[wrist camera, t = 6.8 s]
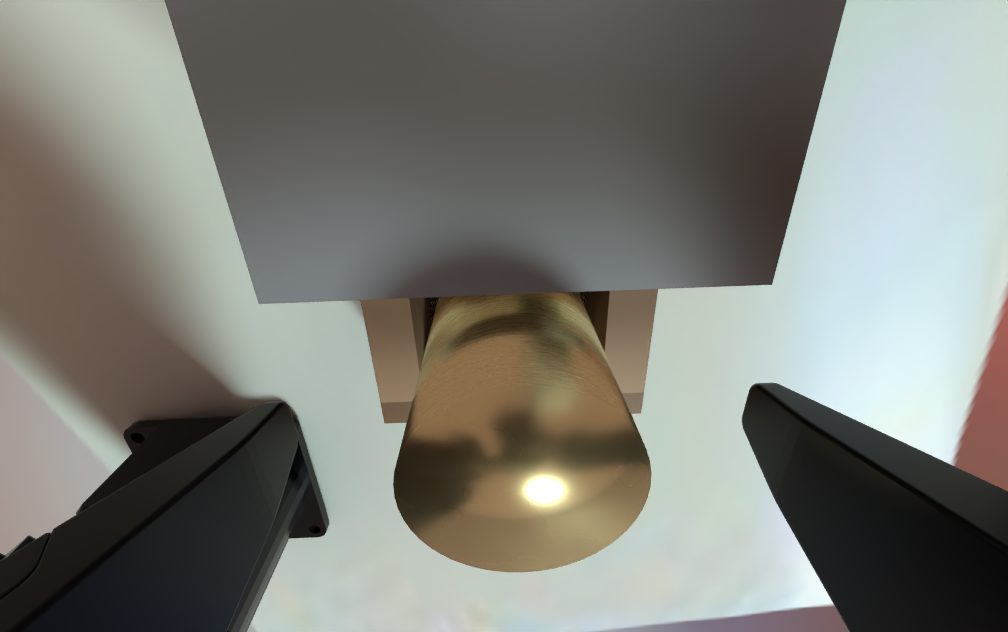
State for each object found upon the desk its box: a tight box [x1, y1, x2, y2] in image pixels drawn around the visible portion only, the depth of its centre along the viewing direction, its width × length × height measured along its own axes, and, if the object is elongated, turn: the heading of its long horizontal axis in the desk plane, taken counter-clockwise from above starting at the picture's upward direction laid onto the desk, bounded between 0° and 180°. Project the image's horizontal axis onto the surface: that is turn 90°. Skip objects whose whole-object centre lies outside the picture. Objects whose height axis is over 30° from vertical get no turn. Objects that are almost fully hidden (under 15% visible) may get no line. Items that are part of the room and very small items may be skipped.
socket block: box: [165, 0, 846, 423], centre depth 11 cm, size 10×8×8 cm
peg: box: [393, 292, 651, 572], centre depth 11 cm, size 4×4×9 cm
